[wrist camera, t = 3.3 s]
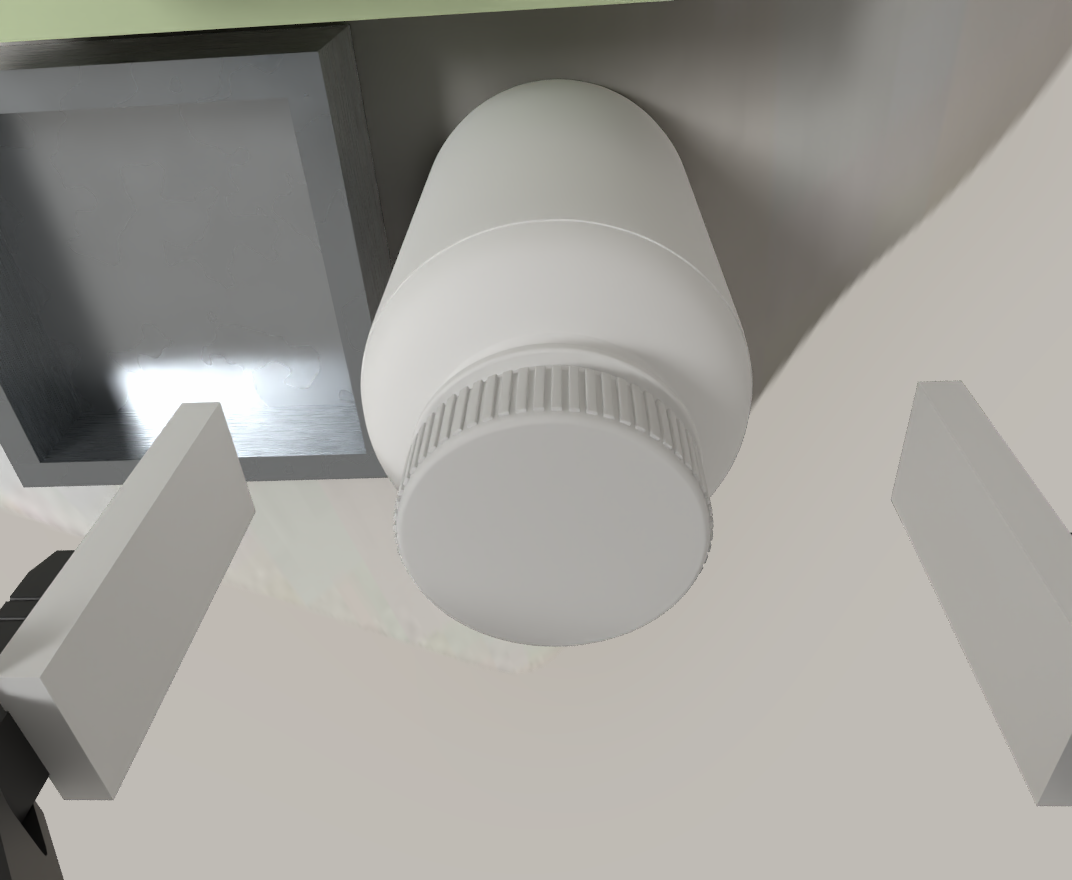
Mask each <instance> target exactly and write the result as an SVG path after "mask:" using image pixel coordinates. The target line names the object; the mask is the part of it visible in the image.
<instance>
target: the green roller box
mask: <svg viewBox="0 0 1072 880" xmlns="http://www.w3.org/2000/svg"><path fill="white" fill-rule="evenodd" d="M656 1H672V0H0V42H16V41H32V40H48V39H64V38H80V37H96V36H112V35H128V34H144V33H160V32H176V31H192V30H208V29H224V28H240V27H256V26H272V25H288V24H304V23H320V22H336V21H352V20H368V19H384V18H400V17H416V16H432V15H448V14H464V13H480V12H496V11H512V10H528V9H544V8H560V7H576V6H592V5H608V4H624V3H640V2H656Z"/></svg>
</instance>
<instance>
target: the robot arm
mask: <svg viewBox="0 0 1072 880" xmlns="http://www.w3.org/2000/svg"><path fill="white" fill-rule="evenodd" d="M891 501H892V503H893V505H894V507H895V509H896V511H897V513H898V516H899V517H900V520H901V522H902V524H903V526H904V528H905V530H906V532H907V534H908V536H909V539H910V541H911V543H912V545H913V547H914V549H915V551H916V553H917V555H918V557H919V559H920V562H921V564H922V566H923V568H924V570H925V572H926V574H927V577H928V579H929V580H930V583H931V585H932V587H933V589H934V591H935V593H936V595H937V597H938V600H939V602H940V604H941V606H942V608H943V610H944V612H945V614H946V616H947V618H948V621H949V623H950V625H951V627H952V629H953V631H954V633H955V635H956V638H957V640H958V642H959V644H960V646H961V648H962V650H963V652H964V654H965V656H966V659H967V661H968V663H969V665H970V667H971V669H972V671H973V673H974V675H975V677H976V680H977V682H978V684H979V686H980V688H981V690H982V692H983V694H984V696H985V699H986V700H987V703H988V705H989V707H990V709H991V711H992V713H993V715H994V717H995V720H996V722H997V724H998V726H999V728H1000V730H1001V732H1002V734H1003V736H1004V738H1005V740H1006V742H1007V745H1008V747H1009V749H1010V751H1011V753H1012V755H1013V757H1014V759H1015V762H1016V764H1017V766H1018V768H1019V770H1020V772H1021V774H1022V776H1023V778H1024V781H1025V783H1026V785H1027V787H1028V789H1029V791H1030V793H1031V795H1032V797H1033V799H1034V801H1035V803H1036V806H1072V533H1070V532H1069V531H1068V529H1067V528H1066V526H1065V525H1064V524H1063V522H1062V521H1061V520H1060V518H1059V517H1058V515H1057V514H1056V513H1055V511H1054V510H1053V508H1052V507H1051V506H1050V504H1049V503H1048V501H1047V500H1046V498H1045V497H1044V496H1043V494H1042V493H1041V492H1040V490H1039V489H1038V487H1037V486H1036V484H1035V483H1034V482H1033V480H1032V479H1031V477H1030V476H1029V475H1028V473H1027V472H1026V471H1025V469H1024V468H1023V466H1022V465H1021V463H1020V462H1019V461H1018V459H1017V458H1016V457H1015V455H1014V454H1013V452H1012V451H1011V449H1010V448H1009V447H1008V445H1007V444H1006V442H1005V441H1004V440H1003V438H1002V437H1001V436H1000V434H999V433H998V431H997V430H996V429H995V427H994V426H993V424H992V423H991V421H990V420H989V419H988V417H987V416H986V415H985V413H984V412H983V410H982V409H981V407H980V406H979V405H978V403H977V402H976V401H975V399H974V398H973V396H972V395H971V394H970V392H969V391H968V389H967V388H966V387H965V385H964V384H963V382H962V381H934V382H918V384H917V388H916V393H915V397H914V401H913V406H912V410H911V415H910V419H909V423H908V427H907V432H906V437H905V441H904V445H903V449H902V454H901V458H900V462H899V467H898V471H897V476H896V480H895V484H894V488H893V493H892V497H891ZM255 512H256V511H255V508H254V505H253V502H252V499H251V495H250V492H249V489H248V486H247V483H246V480H245V477H244V474H243V471H242V468H241V465H240V462H239V459H238V456H237V452H236V449H235V446H234V443H233V440H232V437H231V434H230V431H229V428H228V425H227V422H226V419H225V416H224V413H223V409H222V406H221V403H220V402H197V403H181V405H180V406H179V407H178V409H177V410H176V412H175V413H174V414H173V416H172V417H171V419H170V420H169V421H168V423H167V424H166V425H165V427H164V428H163V430H162V431H161V432H160V434H159V435H158V436H157V438H156V439H155V441H154V442H153V443H152V445H151V446H150V448H149V449H148V450H147V452H146V453H145V454H144V456H143V457H142V459H141V460H140V461H139V463H138V464H137V466H136V467H135V468H134V470H133V471H132V472H131V474H130V475H129V477H128V478H127V479H126V481H125V482H124V484H123V485H122V486H121V488H120V489H119V490H118V492H117V493H116V495H115V496H114V497H113V499H112V500H111V502H110V503H109V504H108V506H107V507H106V508H105V510H104V511H103V513H102V514H101V515H100V517H99V518H98V520H97V521H96V522H95V524H94V525H93V526H92V528H91V529H90V531H89V532H88V533H87V535H86V536H85V538H84V539H83V540H82V542H81V543H80V544H79V546H78V547H77V549H76V550H67V551H56V552H54V553H53V554H52V555H51V556H49V557H48V558H47V559H45V560H44V561H43V562H42V563H40V564H39V565H38V566H36V567H35V568H34V569H32V570H31V571H30V572H29V573H28V574H27V575H26V577H25V578H24V579H23V580H22V582H21V583H20V584H19V586H18V587H17V588H16V590H15V591H14V592H13V593H12V595H11V596H10V601H9V602H6V603H5V604H4V605H3V607H2V608H1V609H0V880H64V879H63V876H62V872H61V869H60V866H59V863H58V859H57V856H56V853H55V849H54V846H53V843H52V840H51V837H50V833H49V830H48V826H47V823H46V820H45V817H44V814H43V812H42V810H41V809H40V807H39V806H38V805H37V803H36V802H35V799H36V798H37V796H38V794H39V792H40V790H41V789H42V787H43V785H44V784H45V782H46V780H47V778H48V777H49V778H50V779H51V781H52V783H53V784H54V785H55V787H56V789H57V790H58V792H59V793H60V795H61V796H62V798H63V799H64V800H114V798H115V796H116V794H117V792H118V790H119V788H120V786H121V784H122V782H123V780H124V778H125V776H126V774H127V772H128V770H129V768H130V766H131V764H132V762H133V760H134V758H135V756H136V753H137V752H138V749H139V748H140V746H141V744H142V741H143V739H144V737H145V735H146V733H147V731H148V729H149V727H150V725H151V723H152V721H153V719H154V717H155V715H156V713H157V711H158V709H159V707H160V705H161V703H162V701H163V699H164V696H165V695H166V693H167V691H168V689H169V687H170V685H171V683H172V681H173V679H174V677H175V674H176V672H177V670H178V668H179V666H180V664H181V662H182V660H183V658H184V656H185V654H186V652H187V650H188V648H189V646H190V644H191V642H192V640H193V638H194V636H195V634H196V632H197V630H198V628H199V626H200V624H201V622H202V619H203V617H204V615H205V614H206V611H207V610H208V607H209V605H210V603H211V601H212V599H213V597H214V595H215V593H216V591H217V589H218V587H219V585H220V583H221V581H222V579H223V577H224V575H225V573H226V571H227V569H228V567H229V565H230V563H231V561H232V559H233V557H234V555H235V553H236V551H237V549H238V547H239V545H240V542H241V540H242V538H243V536H244V534H245V532H246V530H247V528H248V526H249V524H250V522H251V520H252V518H253V516H254V514H255Z"/></svg>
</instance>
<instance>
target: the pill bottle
mask: <svg viewBox="0 0 1072 880" xmlns="http://www.w3.org/2000/svg"><path fill="white" fill-rule="evenodd" d="M752 392H753V377H752V366H751V359H750V354H749V349H748V345H747V341H746V338H745V334H744V331H743V328H742V325H741V322H740V319H739V316H738V314H737V311H736V308H735V306H734V303H733V300H732V297H731V295H730V292H729V289H728V286H727V284H726V281H725V278H724V275H723V273H722V270H721V267H720V265H719V262H718V259H717V256H716V254H715V251H714V248H713V245H712V243H711V240H710V237H709V235H708V232H707V229H706V226H705V224H704V221H703V218H702V215H701V213H700V210H699V207H698V205H697V202H696V199H695V196H694V194H693V191H692V188H691V185H690V183H689V180H688V177H687V175H686V172H685V169H684V166H683V164H682V161H681V159H680V157H679V155H678V153H677V151H676V149H675V148H674V146H673V144H672V143H671V141H670V140H669V138H668V137H667V135H666V134H665V133H664V132H663V130H662V129H661V128H660V127H659V126H658V124H657V123H656V122H655V121H654V120H653V119H652V118H651V117H650V116H649V115H648V114H647V113H646V112H645V111H644V110H642V109H641V108H640V107H639V106H637V105H636V104H635V103H633V102H632V101H630V100H629V99H627V98H625V97H624V96H622V95H620V94H618V93H616V92H614V91H612V90H609V89H607V88H604V87H602V86H599V85H595V84H592V83H588V82H583V81H577V80H567V79H550V80H540V81H534V82H529V83H525V84H521V85H518V86H515V87H512V88H510V89H507V90H505V91H503V92H501V93H499V94H497V95H495V96H493V97H491V98H490V99H488V100H486V101H485V102H483V103H482V104H481V105H479V106H478V107H477V108H475V109H474V110H473V111H472V112H471V113H469V114H468V115H467V116H466V117H465V118H464V119H463V120H462V121H461V122H460V124H459V125H458V126H457V127H456V128H455V129H454V131H453V132H452V133H451V134H450V136H449V137H448V138H447V140H446V141H445V143H444V144H443V146H442V148H441V149H440V151H439V153H438V155H437V157H436V159H435V161H434V163H433V166H432V168H431V171H430V174H429V176H428V179H427V182H426V184H425V187H424V189H423V192H422V195H421V197H420V200H419V202H418V205H417V208H416V210H415V213H414V216H413V218H412V221H411V223H410V226H409V229H408V231H407V234H406V237H405V239H404V242H403V244H402V247H401V250H400V252H399V255H398V257H397V260H396V263H395V265H394V268H393V271H392V273H391V276H390V278H389V281H388V284H387V286H386V289H385V292H384V294H383V297H382V299H381V302H380V305H379V307H378V310H377V313H376V315H375V318H374V320H373V323H372V326H371V329H370V332H369V335H368V339H367V342H366V346H365V351H364V356H363V361H362V368H361V399H362V406H363V412H364V417H365V422H366V427H367V431H368V434H369V437H370V441H371V443H372V446H373V449H374V451H375V453H376V456H377V458H378V460H379V462H380V464H381V466H382V468H383V469H384V471H385V473H386V475H387V476H388V478H389V479H390V481H391V482H392V484H393V485H394V486H395V488H396V489H397V490H398V495H397V499H396V504H395V511H394V525H393V526H394V532H395V542H396V544H398V547H397V550H398V553H399V555H401V557H402V558H401V561H402V563H403V565H404V566H405V567H406V569H407V572H408V574H409V575H410V577H411V578H412V580H413V581H414V583H415V584H416V586H417V587H418V588H419V589H420V591H421V592H422V593H423V594H424V595H425V596H426V597H427V598H428V599H429V600H430V601H431V602H432V603H433V604H434V605H435V606H436V607H438V608H439V609H440V610H441V611H443V612H444V613H445V614H447V615H448V616H450V617H451V618H453V619H454V620H456V621H458V622H460V623H461V624H463V625H465V626H467V627H469V628H471V629H473V630H476V631H478V632H481V633H483V634H486V635H489V636H492V637H495V638H498V639H502V640H506V641H510V642H515V643H520V644H526V645H535V646H575V645H584V644H590V643H595V642H600V641H605V640H608V639H612V638H615V637H618V636H621V635H624V634H627V633H629V632H632V631H634V630H636V629H638V628H640V627H643V626H644V625H646V624H648V623H650V622H652V621H653V620H655V619H656V618H658V617H660V616H661V615H662V614H664V613H665V612H666V611H668V610H669V609H670V608H671V607H673V606H674V605H675V604H676V603H677V602H678V601H679V600H680V599H681V598H682V597H683V596H684V595H685V594H686V592H687V591H688V590H689V589H690V587H691V586H692V585H693V583H694V581H695V580H696V579H697V577H698V575H699V574H700V573H701V571H702V569H703V564H704V563H706V560H707V558H708V555H707V552H710V548H711V540H712V537H713V530H712V529H713V518H712V515H713V514H712V507H711V502H710V497H711V495H712V494H713V493H714V492H715V491H716V489H717V488H718V487H719V485H720V484H721V482H722V481H723V480H724V478H725V476H726V475H727V473H728V471H729V470H730V468H731V466H732V464H733V462H734V460H735V458H736V456H737V454H738V452H739V449H740V447H741V444H742V441H743V438H744V435H745V431H746V428H747V423H748V419H749V414H750V409H751V402H752Z"/></svg>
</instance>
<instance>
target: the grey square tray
mask: <svg viewBox="0 0 1072 880" xmlns="http://www.w3.org/2000/svg"><path fill="white" fill-rule="evenodd" d="M391 273H392V267H391V262H390V256H389V250H388V244H387V238H386V233H385V227H384V221H383V215H382V210H381V204H380V198H379V192H378V187H377V181H376V175H375V169H374V163H373V158H372V152H371V146H370V140H369V135H368V129H367V123H366V117H365V112H364V106H363V100H362V94H361V89H360V83H359V77H358V71H357V65H356V60H355V54H354V48H353V42H352V37H351V31H350V25H335V26H319V27H303V28H287V29H271V30H255V31H238V32H222V33H206V34H190V35H174V36H158V37H142V38H126V39H110V40H94V41H78V42H62V43H46V44H29V45H13V46H0V444H1V446H2V447H3V449H4V451H5V453H6V455H7V457H8V459H9V461H10V462H11V464H12V466H13V468H14V470H15V472H16V474H17V476H18V477H19V479H20V481H21V483H22V485H23V487H54V486H91V485H123V484H124V482H125V481H126V479H127V478H128V477H129V475H130V474H131V472H132V471H133V470H134V468H135V467H136V466H137V464H138V463H139V461H140V460H141V459H142V457H143V456H144V454H145V453H146V452H147V450H148V449H149V448H150V446H151V445H152V443H153V442H154V441H155V439H156V438H157V436H158V435H159V434H160V432H161V431H162V430H163V428H164V427H165V425H166V424H167V423H168V421H169V420H170V419H171V417H172V416H173V414H174V413H175V412H176V410H177V409H178V407H179V406H180V405H181V403H197V402H220V403H221V406H222V409H223V413H224V416H225V419H226V422H227V425H228V428H229V431H230V434H231V437H232V440H233V443H234V446H235V449H236V452H237V456H238V459H239V462H240V465H241V468H242V471H243V474H244V477H245V480H246V481H278V480H315V479H353V478H388V476H387V475H386V473H385V471H384V469H383V468H382V466H381V464H380V462H379V460H378V458H377V456H376V453H375V451H374V449H373V446H372V443H371V441H370V437H369V434H368V431H367V427H366V422H365V417H364V412H363V406H362V399H361V368H362V361H363V356H364V351H365V346H366V342H367V339H368V335H369V332H370V329H371V326H372V323H373V320H374V318H375V315H376V313H377V310H378V307H379V305H380V302H381V299H382V297H383V294H384V292H385V289H386V286H387V284H388V281H389V278H390V276H391Z"/></svg>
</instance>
